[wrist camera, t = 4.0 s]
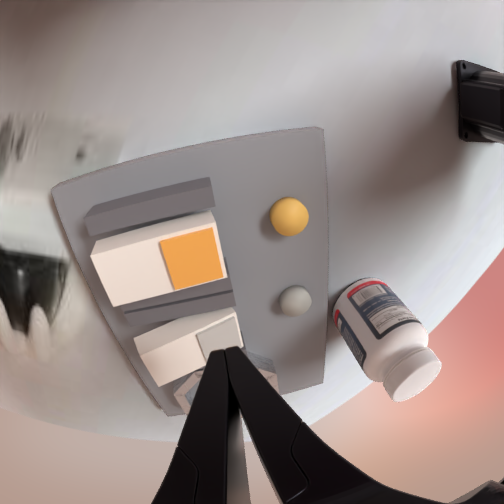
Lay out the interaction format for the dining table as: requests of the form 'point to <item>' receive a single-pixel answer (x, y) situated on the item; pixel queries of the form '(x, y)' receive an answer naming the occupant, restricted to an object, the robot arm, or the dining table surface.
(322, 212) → the panel
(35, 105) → the dining table surface
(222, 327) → the breaker
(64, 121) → the dining table surface
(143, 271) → the block
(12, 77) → the dining table surface
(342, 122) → the dining table surface
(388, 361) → the pill bottle
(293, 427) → the robot arm
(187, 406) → the socket
